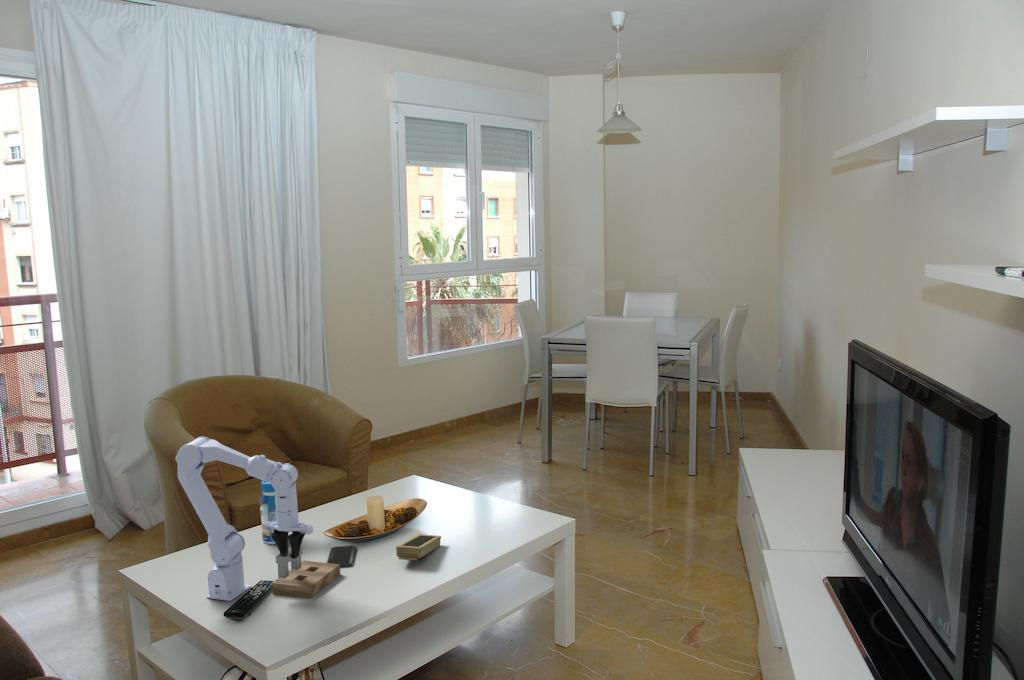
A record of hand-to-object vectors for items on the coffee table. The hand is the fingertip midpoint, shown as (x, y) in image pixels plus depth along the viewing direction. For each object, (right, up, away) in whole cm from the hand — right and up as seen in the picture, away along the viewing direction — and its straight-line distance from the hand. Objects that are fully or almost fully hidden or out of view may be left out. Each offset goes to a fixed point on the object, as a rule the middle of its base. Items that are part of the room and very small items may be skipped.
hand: (290, 556), depth 218 cm
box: (+33, -6, +25) cm, 42 cm away
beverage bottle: (-16, -6, +40) cm, 44 cm away
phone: (+9, -7, +24) cm, 27 cm away
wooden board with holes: (+3, -9, +6) cm, 11 cm away
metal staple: (0, -4, 0) cm, 4 cm away
